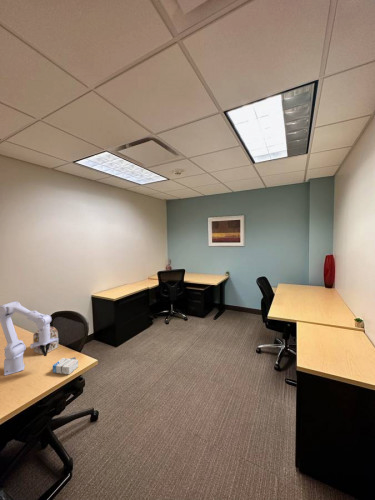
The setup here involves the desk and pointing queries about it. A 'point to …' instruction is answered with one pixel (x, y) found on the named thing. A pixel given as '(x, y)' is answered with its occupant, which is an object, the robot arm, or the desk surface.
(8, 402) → the desk surface
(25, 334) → the desk surface
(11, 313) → the robot arm
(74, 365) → the ink box
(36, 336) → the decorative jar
